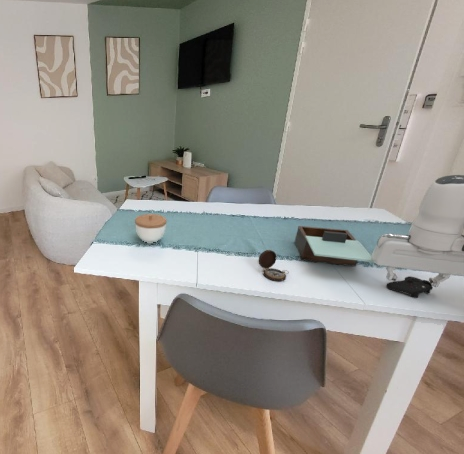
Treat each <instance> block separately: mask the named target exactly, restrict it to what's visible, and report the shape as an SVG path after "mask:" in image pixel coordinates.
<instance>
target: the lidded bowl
mask: <svg viewBox="0 0 464 454" xmlns="http://www.w3.org/2000/svg"><path fill="white" fill-rule="evenodd" d="M167 221H168V220H167V218H166V217H164V216H163V215H160V214H156V213H146V214H141V215H138V216H136V217H135V219H134V223H135V225H134V226H135V227H134V228H135V232H136V235H137V237H138V238H139V239H140V240H141V241H142V242H143V241H144V242H143V243H145V242H147V243H146V244H154V243H153V242H156V243H158V242H159V241H160V240H161V239H162V238H163V237H164V236H165V233H166V230H167ZM158 240H159V241H158ZM157 241H158V242H157Z"/></svg>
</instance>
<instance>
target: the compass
mask: <svg viewBox="0 0 464 454" xmlns="http://www.w3.org/2000/svg"><path fill="white" fill-rule="evenodd" d="M257 262H258V265H259V267H261V268H262V269H265V270H263V276H264V277H265V278H266V279H269V280H271V281H275V282H282V281H285V280H286V279H287V275H286V272H287V274H289V273H290V271H287V269H282V270H281V269H278V268H274V267H273V266H274V265H275V263H276V262H277V254H276V252H275V251H273V250H272V249H266V250H264V251H262V252H261V254H260V255H259V256H258V260H257ZM272 267H273V268H272Z"/></svg>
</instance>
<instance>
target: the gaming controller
mask: <svg viewBox="0 0 464 454" xmlns="http://www.w3.org/2000/svg"><path fill="white" fill-rule="evenodd" d="M428 281H429V280H426V279H420V278H418V277H415V276H406V277H405V278H404V280H396V281H390V282H387V283H386V288H388V289H389V290H392V291H395V292H400V293H404V294H407V295H409V296H410V297H412V298H415V299H418V298H419V295H421V294H423V293H424V294H431V291H432V290H433V288H434V287H433V286H430V285H429V284H428Z"/></svg>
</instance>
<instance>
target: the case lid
mask: <svg viewBox="0 0 464 454" xmlns="http://www.w3.org/2000/svg"><path fill="white" fill-rule="evenodd" d="M347 235H348V234H347V233H340V232H329V231H324V233H323V237H314V236H305V238H306V240H307V242H308V244H309V246H310V248H311V249H312V251H313V253H314V255H316V256H324V257H333V258H341V259H349V260H358V261H359V262H368V263H375V262H374V261H373V260H372V258H371V255H372V254H371V253H369V251H368V250H367V249H366V248H365V246H364V245H363V244H362V243H361V242H360V241H359V240H356V241H354V240H346V238H347ZM358 261H357V262H358Z"/></svg>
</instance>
